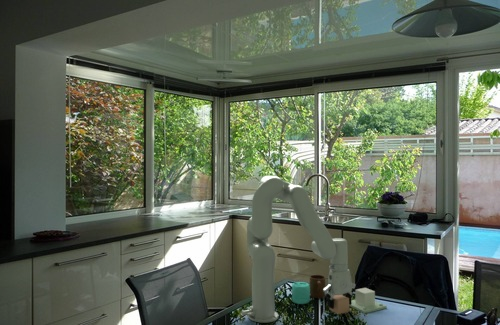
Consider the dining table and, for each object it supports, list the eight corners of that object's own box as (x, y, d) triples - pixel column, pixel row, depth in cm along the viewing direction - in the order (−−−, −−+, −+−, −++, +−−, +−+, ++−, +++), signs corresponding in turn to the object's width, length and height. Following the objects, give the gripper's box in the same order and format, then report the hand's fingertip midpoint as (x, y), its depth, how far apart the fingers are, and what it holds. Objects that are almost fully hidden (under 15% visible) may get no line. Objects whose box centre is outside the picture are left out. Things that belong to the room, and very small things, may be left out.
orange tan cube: (338, 314, 172) (338, 300, 172) (329, 309, 177) (329, 296, 177) (349, 312, 174) (349, 298, 174) (340, 307, 180) (340, 294, 180)
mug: (328, 302, 187) (328, 282, 186) (311, 302, 187) (311, 282, 187) (324, 293, 199) (324, 274, 198) (308, 293, 199) (308, 274, 199)
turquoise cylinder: (309, 304, 184) (309, 287, 184) (292, 304, 185) (292, 286, 185) (309, 298, 192) (309, 281, 192) (292, 298, 193) (292, 281, 193)
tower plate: (364, 313, 172) (364, 297, 172) (344, 303, 184) (344, 288, 184) (386, 308, 178) (386, 292, 178) (365, 299, 190) (365, 284, 190)
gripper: (328, 271, 168) (329, 312, 168) (360, 266, 176) (360, 304, 176) (317, 267, 175) (318, 306, 175) (348, 262, 183) (349, 299, 183)
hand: (339, 305), depth 176 cm, fingers open, 9 cm apart
